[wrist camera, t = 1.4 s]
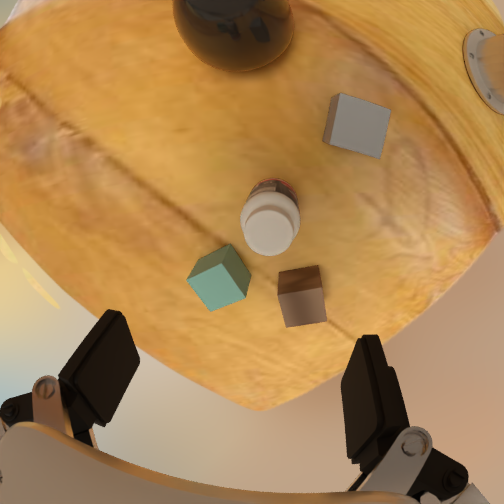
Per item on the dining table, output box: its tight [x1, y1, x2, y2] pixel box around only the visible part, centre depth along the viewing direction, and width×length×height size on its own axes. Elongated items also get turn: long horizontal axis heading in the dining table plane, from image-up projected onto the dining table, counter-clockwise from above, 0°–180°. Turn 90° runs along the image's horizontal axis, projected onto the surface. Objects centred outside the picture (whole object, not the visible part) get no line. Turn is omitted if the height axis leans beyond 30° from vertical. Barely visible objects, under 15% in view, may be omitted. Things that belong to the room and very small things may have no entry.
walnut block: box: [277, 265, 327, 328], centre depth 32 cm, size 5×5×5 cm
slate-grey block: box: [323, 93, 391, 159], centre depth 23 cm, size 5×5×5 cm
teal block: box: [187, 244, 251, 312], centre depth 33 cm, size 5×5×5 cm
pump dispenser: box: [172, 0, 294, 72], centre depth 15 cm, size 10×10×15 cm
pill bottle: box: [240, 178, 300, 256], centre depth 26 cm, size 5×5×10 cm
